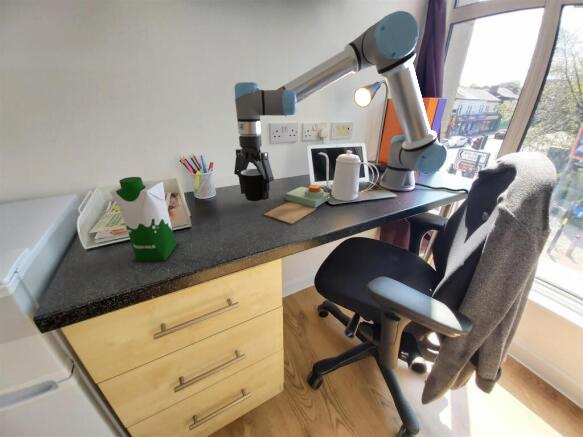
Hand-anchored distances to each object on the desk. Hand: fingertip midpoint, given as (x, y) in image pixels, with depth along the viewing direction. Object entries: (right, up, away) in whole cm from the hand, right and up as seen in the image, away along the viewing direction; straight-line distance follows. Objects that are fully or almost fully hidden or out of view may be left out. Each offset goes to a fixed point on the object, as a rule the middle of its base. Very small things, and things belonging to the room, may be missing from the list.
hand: (254, 196), depth 90 cm
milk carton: (-20, -17, -29) cm, 39 cm away
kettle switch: (+23, +2, +2) cm, 23 cm away
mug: (0, 0, +1) cm, 1 cm away
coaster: (+14, -6, -6) cm, 16 cm away
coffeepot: (+36, 0, +9) cm, 37 cm away
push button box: (+20, -1, +5) cm, 21 cm away
